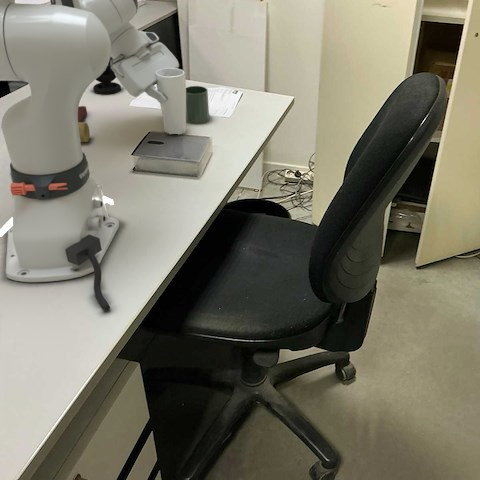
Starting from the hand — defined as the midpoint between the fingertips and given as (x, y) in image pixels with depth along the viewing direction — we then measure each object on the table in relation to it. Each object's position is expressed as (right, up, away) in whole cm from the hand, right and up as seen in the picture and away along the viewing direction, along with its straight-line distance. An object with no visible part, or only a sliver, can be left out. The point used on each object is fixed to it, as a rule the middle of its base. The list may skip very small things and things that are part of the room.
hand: (173, 96), depth 133 cm
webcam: (-26, +8, +27) cm, 38 cm away
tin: (+3, -3, +13) cm, 14 cm away
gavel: (-26, -7, +5) cm, 27 cm away
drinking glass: (-1, -8, +5) cm, 9 cm away
